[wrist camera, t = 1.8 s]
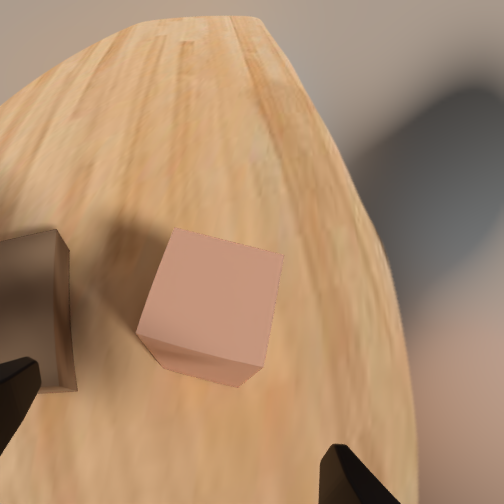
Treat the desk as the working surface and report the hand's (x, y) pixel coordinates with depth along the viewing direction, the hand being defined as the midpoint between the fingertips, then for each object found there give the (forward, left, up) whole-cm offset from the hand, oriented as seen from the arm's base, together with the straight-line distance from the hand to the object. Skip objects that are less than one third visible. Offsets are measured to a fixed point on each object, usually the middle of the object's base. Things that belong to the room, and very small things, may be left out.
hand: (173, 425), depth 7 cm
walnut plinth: (-8, +13, -12) cm, 19 cm away
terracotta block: (+4, +3, -12) cm, 13 cm away
